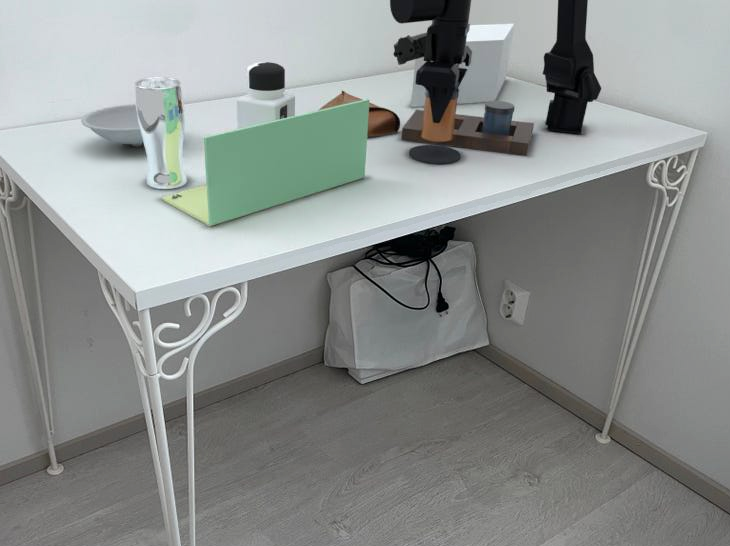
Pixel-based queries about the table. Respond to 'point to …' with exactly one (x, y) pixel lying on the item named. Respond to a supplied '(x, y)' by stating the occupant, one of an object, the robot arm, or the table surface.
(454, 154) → the coaster
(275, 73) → the container
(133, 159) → the table surface
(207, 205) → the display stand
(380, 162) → the table surface
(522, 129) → the jar stand
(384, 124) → the sunglasses case
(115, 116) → the dish
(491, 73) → the block
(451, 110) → the amber jar
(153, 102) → the beer glass
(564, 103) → the robot arm
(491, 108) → the spice jar
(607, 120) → the table surface
